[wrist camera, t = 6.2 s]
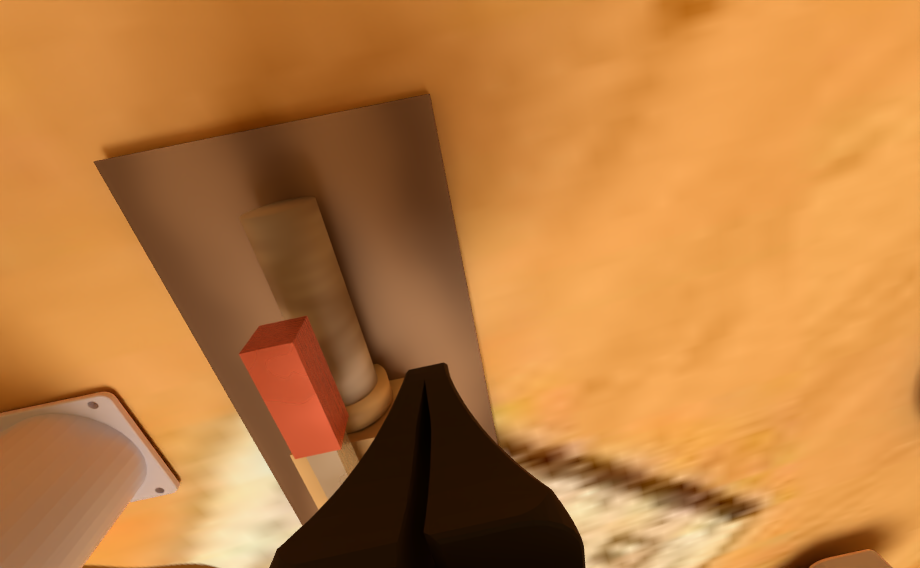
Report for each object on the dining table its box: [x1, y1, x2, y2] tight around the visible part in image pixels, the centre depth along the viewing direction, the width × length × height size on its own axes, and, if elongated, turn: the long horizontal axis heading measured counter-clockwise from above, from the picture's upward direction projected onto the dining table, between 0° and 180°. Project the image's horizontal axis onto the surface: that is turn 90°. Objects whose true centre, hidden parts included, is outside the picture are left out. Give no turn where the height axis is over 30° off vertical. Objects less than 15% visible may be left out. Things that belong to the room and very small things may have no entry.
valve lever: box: [239, 316, 359, 499], centre depth 16 cm, size 11×2×2 cm, turn 11°
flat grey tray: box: [94, 94, 498, 525], centre depth 22 cm, size 14×34×5 cm, turn 10°
